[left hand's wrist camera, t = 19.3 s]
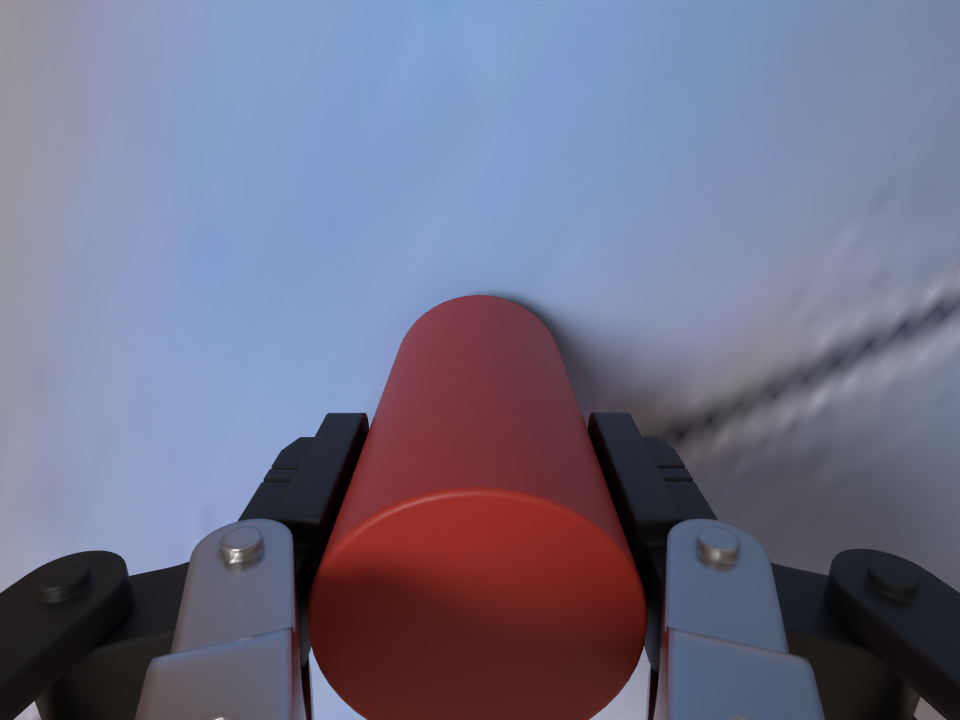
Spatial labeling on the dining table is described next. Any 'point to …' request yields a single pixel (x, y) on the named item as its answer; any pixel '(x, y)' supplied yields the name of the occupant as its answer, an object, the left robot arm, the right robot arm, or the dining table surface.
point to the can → (477, 538)
